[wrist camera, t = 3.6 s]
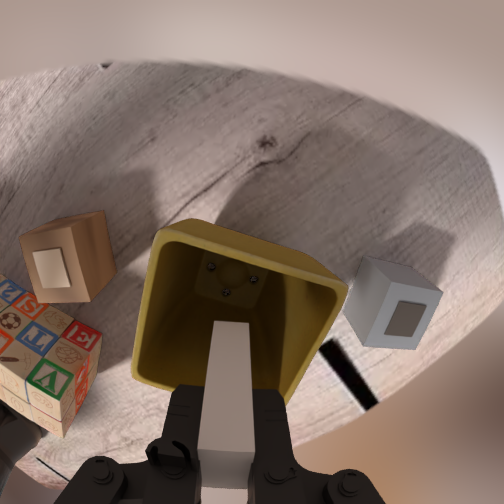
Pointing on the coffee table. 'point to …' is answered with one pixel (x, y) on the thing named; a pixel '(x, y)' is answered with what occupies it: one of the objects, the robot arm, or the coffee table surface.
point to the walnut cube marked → (69, 258)
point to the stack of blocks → (44, 359)
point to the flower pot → (230, 306)
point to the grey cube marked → (390, 304)
